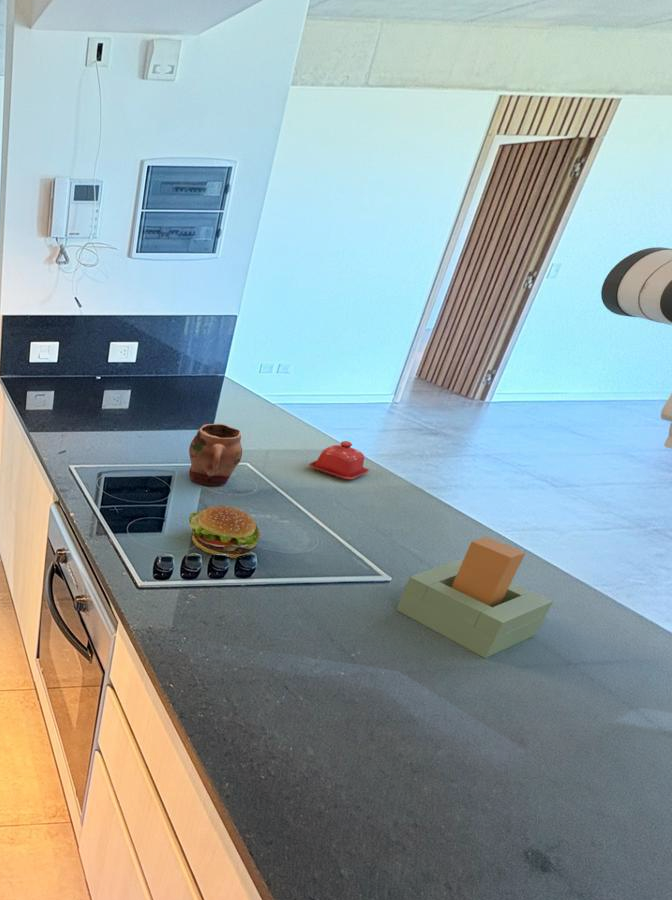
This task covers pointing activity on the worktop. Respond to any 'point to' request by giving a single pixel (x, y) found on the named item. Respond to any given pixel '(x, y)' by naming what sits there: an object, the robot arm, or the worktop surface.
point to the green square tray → (472, 611)
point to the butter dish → (341, 461)
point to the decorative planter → (214, 454)
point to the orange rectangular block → (488, 570)
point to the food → (224, 531)
